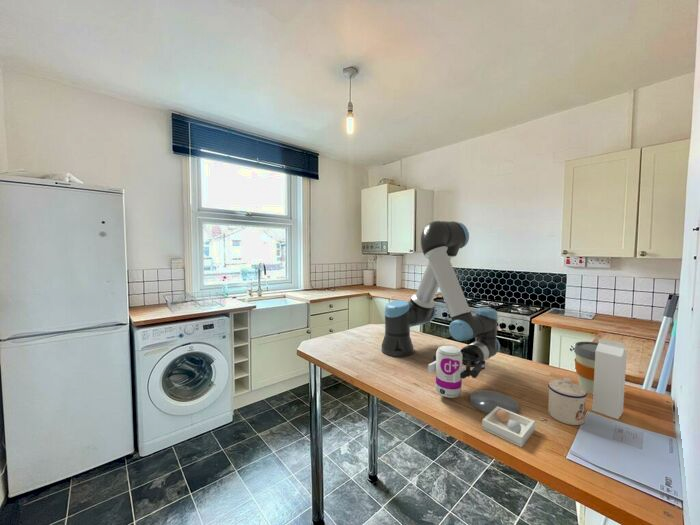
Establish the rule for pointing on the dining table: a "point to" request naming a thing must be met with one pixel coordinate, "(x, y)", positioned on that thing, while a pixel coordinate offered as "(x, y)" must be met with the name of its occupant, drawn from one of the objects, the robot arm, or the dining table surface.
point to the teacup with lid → (566, 401)
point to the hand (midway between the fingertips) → (441, 373)
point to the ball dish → (501, 428)
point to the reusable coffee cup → (585, 364)
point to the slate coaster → (493, 401)
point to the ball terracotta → (503, 415)
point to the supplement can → (448, 370)
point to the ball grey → (514, 426)
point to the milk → (609, 378)
